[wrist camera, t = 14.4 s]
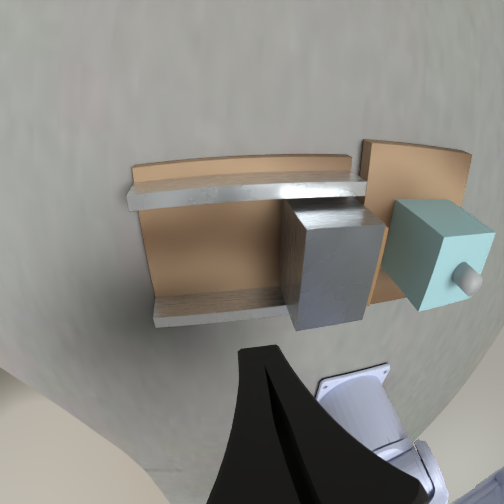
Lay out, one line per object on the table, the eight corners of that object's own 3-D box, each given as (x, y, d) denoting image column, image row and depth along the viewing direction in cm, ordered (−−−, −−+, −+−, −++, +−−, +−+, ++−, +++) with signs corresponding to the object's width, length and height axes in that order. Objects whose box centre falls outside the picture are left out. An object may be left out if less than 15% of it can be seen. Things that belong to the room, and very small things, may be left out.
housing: (432, 258, 21) (482, 311, 16) (381, 266, 20) (431, 328, 15) (448, 199, 19) (511, 244, 13) (395, 199, 18) (461, 252, 12)
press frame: (428, 284, 24) (444, 302, 22) (163, 320, 21) (161, 347, 19) (463, 150, 18) (487, 161, 16) (131, 147, 15) (120, 159, 13)
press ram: (345, 278, 20) (371, 317, 17) (278, 286, 20) (295, 330, 16) (359, 193, 17) (395, 223, 14) (283, 195, 16) (306, 229, 13)
